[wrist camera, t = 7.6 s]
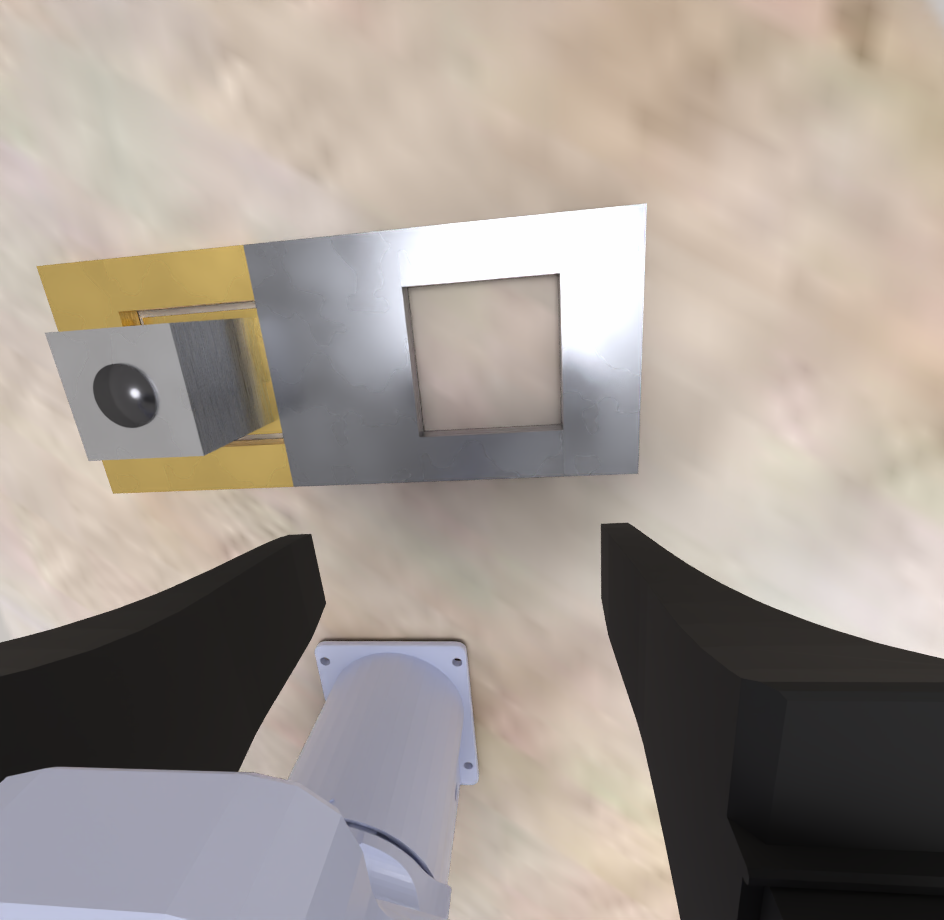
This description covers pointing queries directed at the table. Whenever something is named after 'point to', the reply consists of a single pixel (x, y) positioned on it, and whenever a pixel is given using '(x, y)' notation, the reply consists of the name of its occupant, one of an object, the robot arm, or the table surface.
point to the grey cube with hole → (162, 387)
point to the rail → (387, 348)
